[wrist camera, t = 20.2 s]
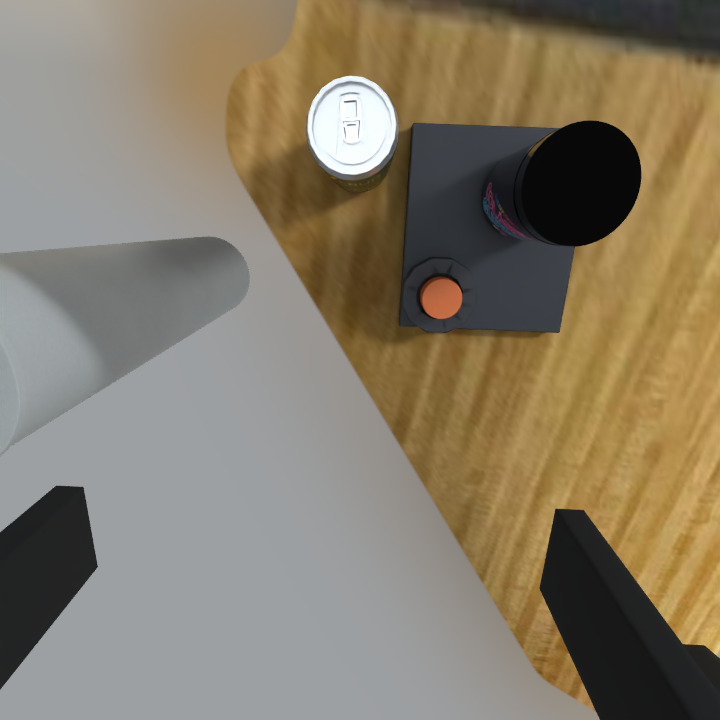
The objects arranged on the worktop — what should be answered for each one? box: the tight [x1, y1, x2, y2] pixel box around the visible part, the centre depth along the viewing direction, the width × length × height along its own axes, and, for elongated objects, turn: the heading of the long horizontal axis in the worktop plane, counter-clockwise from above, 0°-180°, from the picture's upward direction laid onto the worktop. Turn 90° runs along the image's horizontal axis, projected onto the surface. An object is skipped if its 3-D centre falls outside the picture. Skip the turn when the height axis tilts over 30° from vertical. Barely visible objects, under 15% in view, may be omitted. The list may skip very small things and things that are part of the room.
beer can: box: [306, 76, 399, 192], centre depth 30 cm, size 5×5×12 cm
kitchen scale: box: [399, 123, 575, 333], centre depth 36 cm, size 14×16×3 cm
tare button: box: [420, 276, 462, 319], centre depth 35 cm, size 3×3×2 cm
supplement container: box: [482, 121, 641, 246], centre depth 30 cm, size 7×7×10 cm
